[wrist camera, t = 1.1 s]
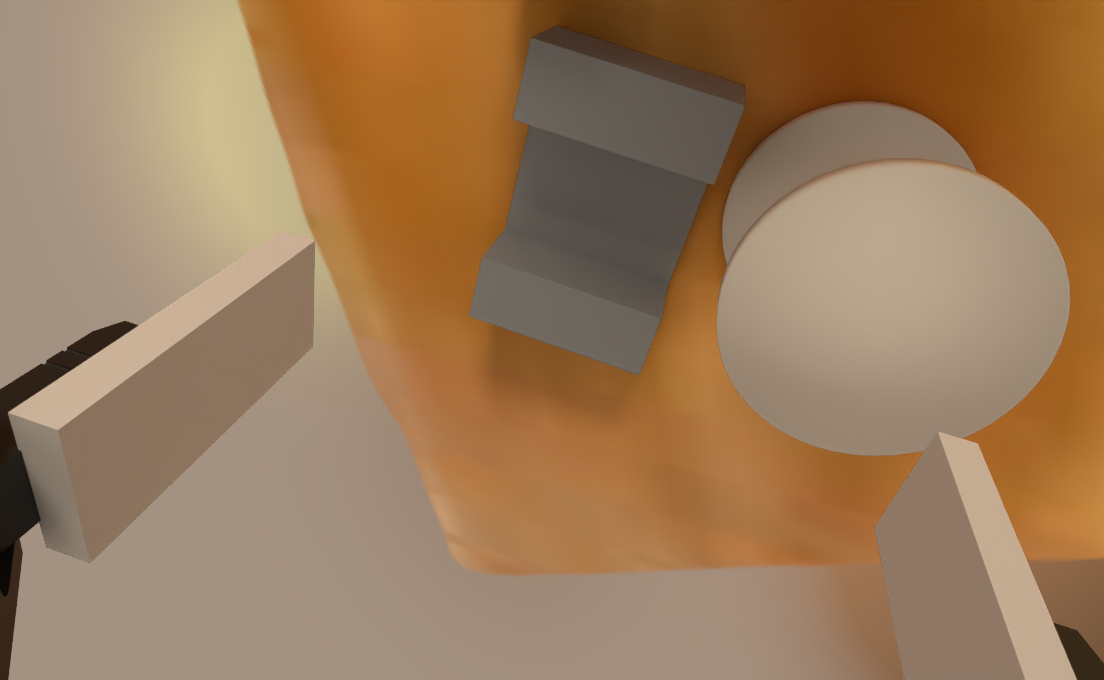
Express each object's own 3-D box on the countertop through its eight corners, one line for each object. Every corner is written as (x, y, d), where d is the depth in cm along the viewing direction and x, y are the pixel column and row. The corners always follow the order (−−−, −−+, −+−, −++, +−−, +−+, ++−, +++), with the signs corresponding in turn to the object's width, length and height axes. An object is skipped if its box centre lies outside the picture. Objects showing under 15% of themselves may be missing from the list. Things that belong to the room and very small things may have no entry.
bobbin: (779, 67, 28) (795, 120, 20) (1030, 146, 27) (1153, 234, 19) (690, 285, 33) (674, 397, 25) (899, 356, 32) (951, 494, 24)
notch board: (556, 25, 29) (531, 37, 25) (744, 85, 28) (745, 105, 25) (495, 278, 35) (469, 316, 32) (649, 331, 35) (639, 375, 31)
